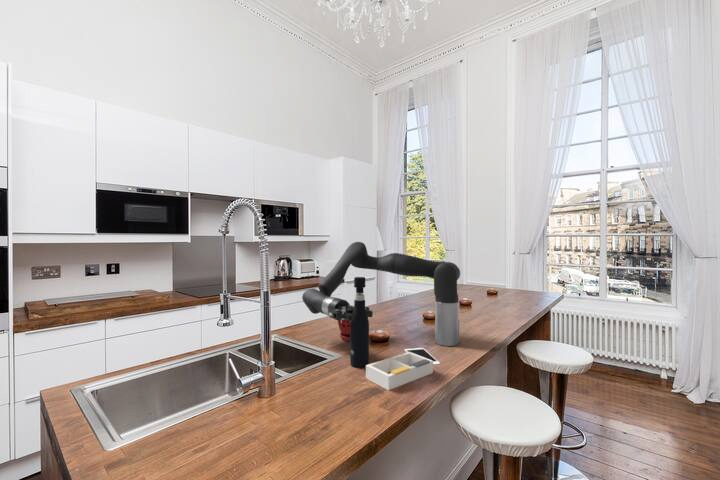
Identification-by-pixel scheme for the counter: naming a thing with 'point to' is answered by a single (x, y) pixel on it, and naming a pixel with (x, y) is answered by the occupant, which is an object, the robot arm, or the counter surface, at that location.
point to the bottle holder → (399, 370)
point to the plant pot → (344, 329)
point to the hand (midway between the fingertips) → (362, 316)
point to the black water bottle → (359, 328)
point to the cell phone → (423, 354)
